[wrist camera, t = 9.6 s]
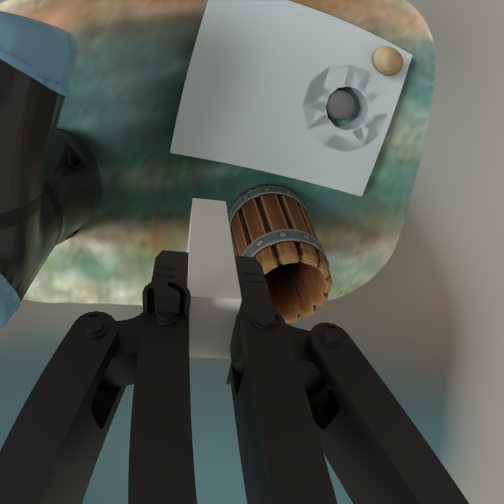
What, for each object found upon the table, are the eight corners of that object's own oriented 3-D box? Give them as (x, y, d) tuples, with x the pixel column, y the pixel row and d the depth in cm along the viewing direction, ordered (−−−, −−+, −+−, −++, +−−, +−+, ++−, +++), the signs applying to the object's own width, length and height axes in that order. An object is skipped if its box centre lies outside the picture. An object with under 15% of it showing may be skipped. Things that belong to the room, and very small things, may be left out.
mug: (278, 166, 38) (313, 222, 25) (318, 225, 43) (359, 296, 31) (180, 235, 41) (169, 314, 29) (228, 283, 47) (235, 365, 34)
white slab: (172, 147, 35) (169, 152, 33) (214, -12, 25) (214, -18, 23) (354, 189, 40) (361, 196, 38) (401, 54, 30) (412, 55, 28)
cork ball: (362, 67, 29) (377, 68, 26) (371, 41, 28) (386, 40, 25) (388, 79, 30) (404, 82, 27) (396, 54, 28) (412, 54, 25)
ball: (324, 113, 35) (317, 112, 32) (333, 87, 33) (326, 83, 30) (351, 124, 34) (346, 124, 31) (361, 97, 32) (357, 94, 30)
